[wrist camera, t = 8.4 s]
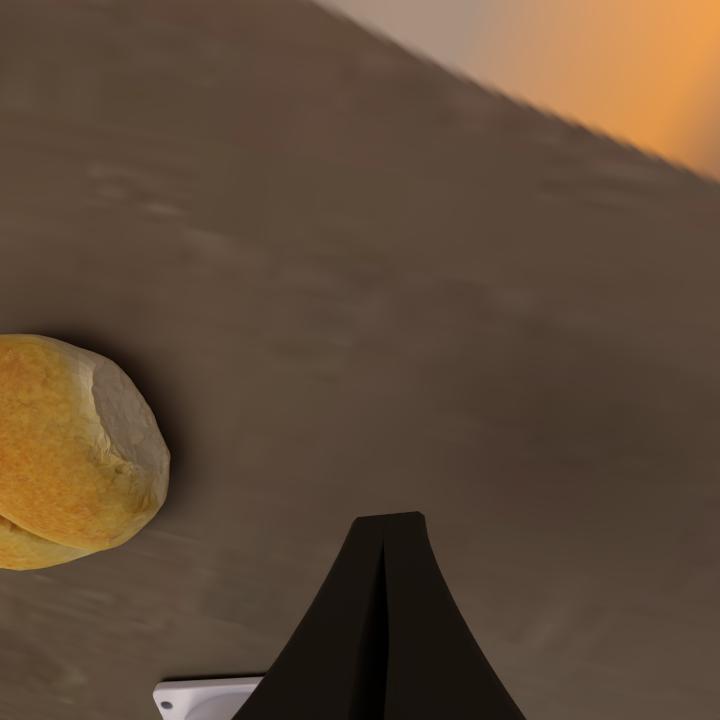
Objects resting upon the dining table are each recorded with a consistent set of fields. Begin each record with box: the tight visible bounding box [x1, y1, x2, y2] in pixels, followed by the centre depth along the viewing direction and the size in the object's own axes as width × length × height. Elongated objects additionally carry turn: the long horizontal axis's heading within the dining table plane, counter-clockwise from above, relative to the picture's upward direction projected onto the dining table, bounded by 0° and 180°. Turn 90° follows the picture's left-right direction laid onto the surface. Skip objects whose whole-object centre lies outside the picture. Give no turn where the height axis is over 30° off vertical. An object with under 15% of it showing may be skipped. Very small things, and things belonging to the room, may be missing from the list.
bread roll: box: [0, 334, 170, 570], centre depth 17 cm, size 8×9×4 cm
